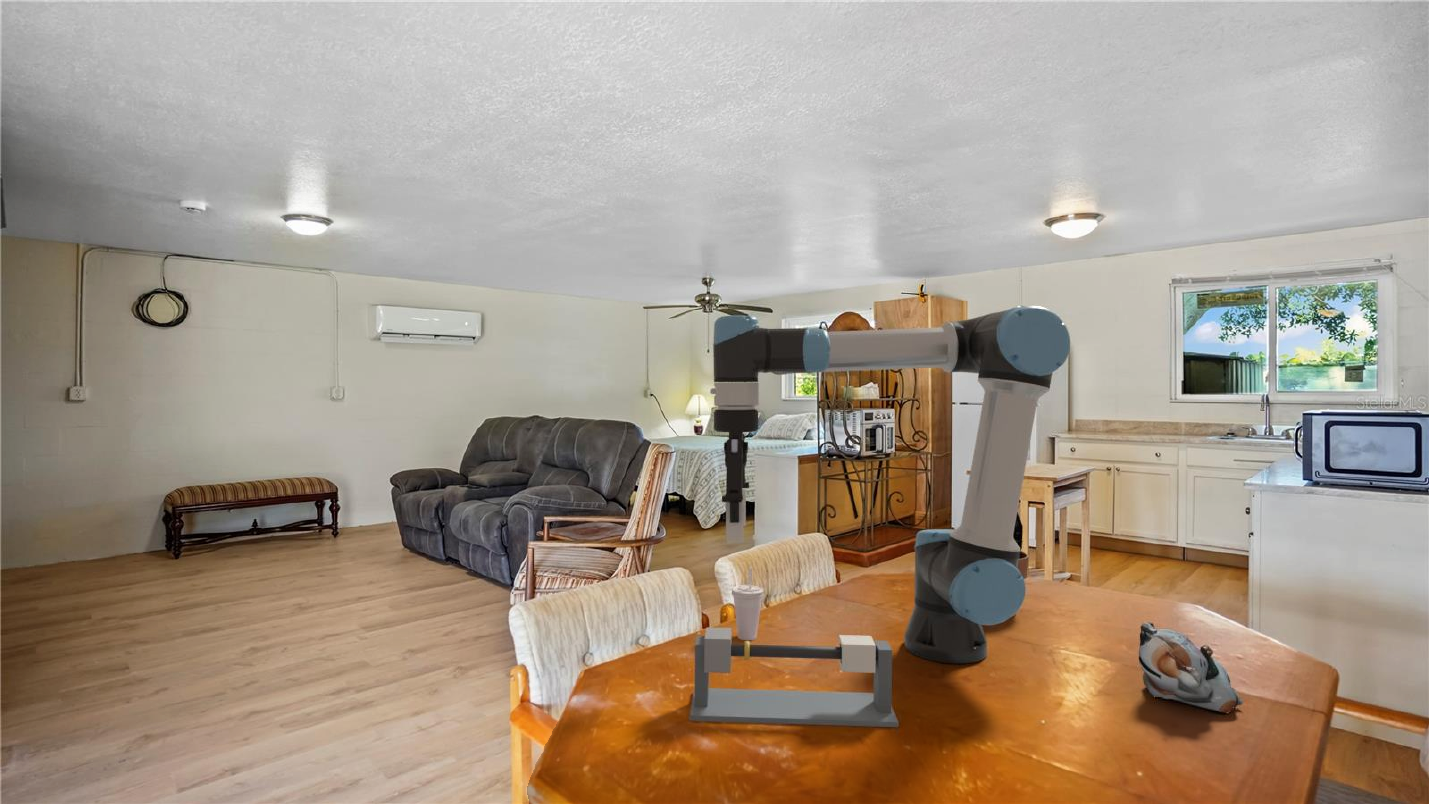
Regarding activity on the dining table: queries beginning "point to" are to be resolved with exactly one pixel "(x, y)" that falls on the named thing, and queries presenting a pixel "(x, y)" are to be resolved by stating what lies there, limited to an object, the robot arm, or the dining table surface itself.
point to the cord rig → (781, 703)
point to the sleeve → (857, 653)
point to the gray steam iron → (1184, 670)
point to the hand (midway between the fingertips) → (736, 533)
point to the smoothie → (747, 608)
